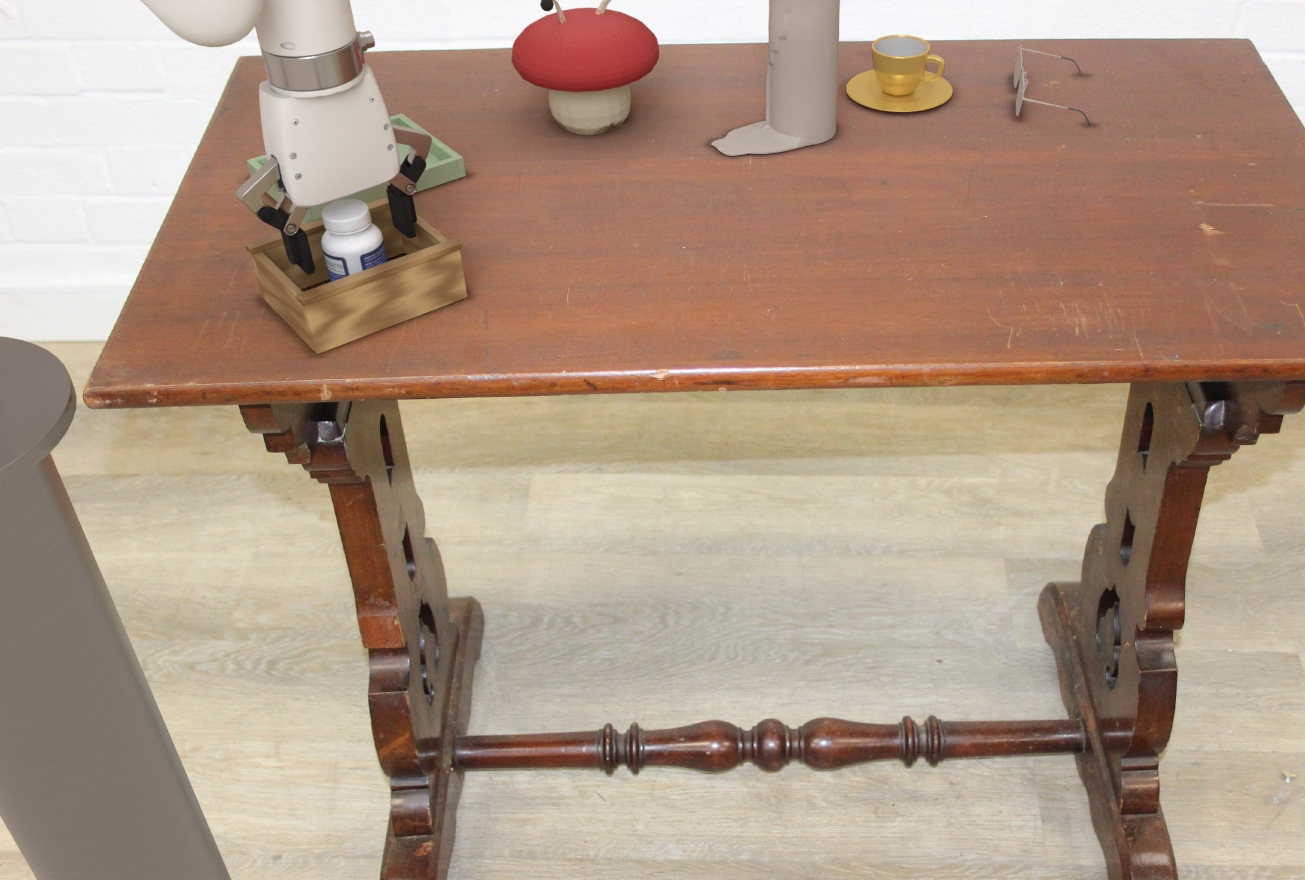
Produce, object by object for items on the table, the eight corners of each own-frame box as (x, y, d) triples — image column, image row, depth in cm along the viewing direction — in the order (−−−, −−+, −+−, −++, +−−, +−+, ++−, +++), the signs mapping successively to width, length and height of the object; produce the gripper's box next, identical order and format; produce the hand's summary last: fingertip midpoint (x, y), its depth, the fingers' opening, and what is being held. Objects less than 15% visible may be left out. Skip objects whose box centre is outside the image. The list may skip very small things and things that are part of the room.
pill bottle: (392, 279, 129) (375, 191, 123) (396, 308, 125) (378, 219, 119) (333, 287, 128) (313, 199, 122) (336, 317, 124) (314, 228, 118)
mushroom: (560, 166, 145) (544, 24, 136) (495, 112, 156) (477, -24, 146) (690, 128, 152) (684, -10, 142) (620, 79, 162) (610, -53, 152)
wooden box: (315, 356, 119) (301, 300, 115) (259, 298, 126) (244, 243, 123) (471, 297, 126) (462, 242, 122) (409, 245, 133) (398, 192, 130)
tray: (306, 229, 136) (301, 209, 135) (251, 178, 144) (246, 159, 143) (466, 175, 144) (463, 157, 143) (405, 130, 152) (401, 112, 151)
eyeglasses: (1012, 71, 162) (1019, 38, 160) (1081, 79, 162) (1089, 46, 159) (1016, 124, 152) (1023, 89, 149) (1090, 132, 151) (1098, 97, 149)
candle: (702, 137, 150) (695, -53, 137) (816, 111, 155) (820, -75, 142) (731, 164, 145) (727, -31, 132) (847, 137, 150) (854, -54, 137)
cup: (833, 107, 155) (835, 60, 152) (861, 65, 164) (863, 20, 161) (939, 121, 153) (943, 73, 149) (962, 77, 161) (966, 31, 158)
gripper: (389, 20, 118) (423, 203, 129) (191, 75, 110) (245, 264, 121) (432, 47, 114) (463, 234, 125) (227, 106, 106) (280, 300, 117)
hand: (355, 249), depth 123 cm, fingers open, 9 cm apart
